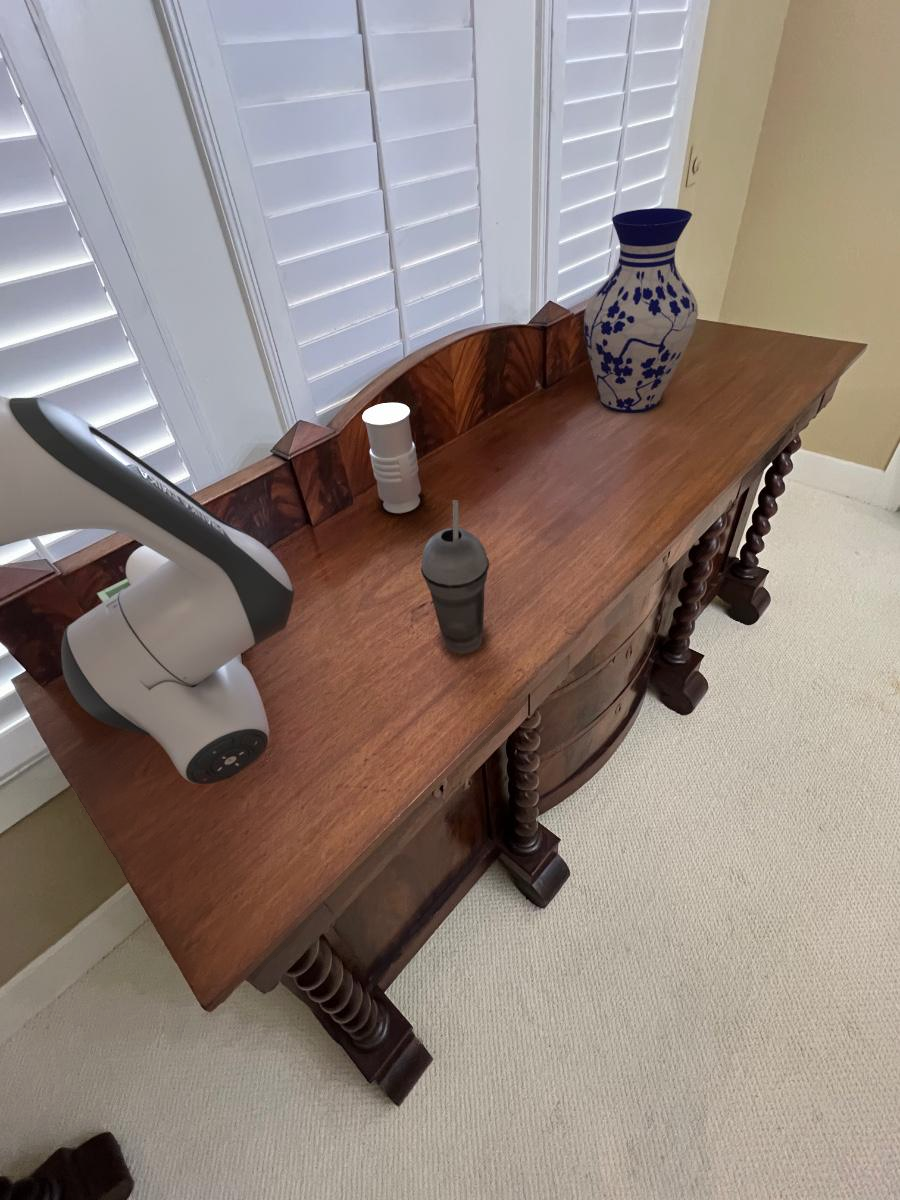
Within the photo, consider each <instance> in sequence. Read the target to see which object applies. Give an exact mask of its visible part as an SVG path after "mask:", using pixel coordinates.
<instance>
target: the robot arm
mask: <svg viewBox="0 0 900 1200" xmlns="http://www.w3.org/2000/svg"><path fill="white" fill-rule="evenodd" d="M91 529H93V530H106V531H107V530H108V531H114V532H117V533H120V534H123V535H125V536H127V537H128V538H131V539H132V540H134V541H136V542H138V543H140V544H141V545H142V546H144V545H145V546H146V547H148V548H150V549H152V550H153V551H155V552H157V553H158V554H160V555H162V556H164V557H165V558H167V559H169V561H167V562H166V563H164V564H163V565H161V566H160V567H158V568H157V569H155V570H154V571H152V572H151V573H149V574H147V575H146V576H144V577H143V578H141V579H140V580H138V581H137V582H135V583H134V584H132V585H130V586H129V587H127V588H126V589H123V590H121V591H120V592H118V593H117V594H115V595H114V596H112V597H110V598H109V599H107V600H106V601H104V602H101V603H100V604H98V605H97V606H95V607H94V608H92V609H91V610H89V611H87V612H86V613H84V614H83V615H81V616H80V617H78V618H77V619H76V620H74V621H73V622H71V623H70V624H68V625H67V626H66V627H65V630H64V632H63V636H62V639H61V646H60V654H61V656H60V657H61V668H62V673H63V677H64V680H65V683H66V685H67V688H68V690H69V691H70V693H71V695H72V697H73V698H74V700H75V701H76V702H77V703H78V705H79V706H80V707H81V708H82V709H83V710H84V711H86V713H88V714H90V716H92V718H94V719H96V720H98V721H99V722H101V723H103V724H105V725H107V726H110V727H112V728H115V729H119V730H123V731H127V732H129V733H134V734H137V735H144V736H151V737H152V738H153V739H154V740H155V741H156V742H157V743H158V744H159V745H160V746H161V747H162V749H163V750H164V752H165V753H166V754H167V756H168V757H169V759H170V760H171V762H172V764H173V765H174V767H175V769H176V771H177V772H178V773H179V775H181V777H182V778H184V779H185V780H186V781H188V782H190V783H192V784H195V785H211V784H215V783H220V782H223V781H225V780H229V779H231V778H233V777H234V776H236V775H238V774H239V773H241V772H242V771H244V770H245V769H246V768H248V767H249V766H250V765H252V764H253V763H254V762H256V761H257V760H258V759H259V758H260V757H261V755H263V753H264V752H265V751H266V749H267V747H268V745H269V743H270V727H269V721H268V717H267V713H266V710H265V707H264V703H263V700H262V697H261V695H260V691H259V689H258V687H257V685H256V681H255V680H254V677H253V675H252V674H251V672H250V671H249V670H248V668H247V667H246V666H245V665H244V664H243V661H242V660H243V659H242V654H243V653H244V652H246V651H248V650H249V649H250V648H252V647H253V646H255V647H256V646H258V645H259V644H261V643H262V642H264V641H266V640H268V639H269V638H271V637H274V636H275V635H277V634H278V633H280V632H281V631H283V630H285V629H286V626H287V624H288V621H289V618H290V615H291V612H292V607H293V602H294V597H295V589H294V587H293V585H292V582H291V579H290V577H289V575H288V573H287V571H286V569H285V567H284V566H283V565H282V563H281V562H280V561H279V559H278V558H277V557H276V556H275V554H274V553H273V552H272V551H271V550H270V549H269V548H267V546H265V545H264V544H263V543H261V542H260V541H258V540H257V539H256V538H254V537H252V536H250V535H249V534H248V533H246V532H245V531H244V530H242V529H240V528H239V527H237V526H235V525H233V524H231V523H230V522H228V521H226V520H225V519H223V518H221V517H220V516H218V515H217V514H215V513H214V512H212V511H211V510H210V509H208V508H207V507H205V506H204V505H203V504H202V503H201V502H199V501H198V500H196V499H195V498H193V497H192V496H191V495H190V494H188V493H187V492H186V491H184V490H183V489H181V488H180V487H179V486H177V485H176V484H175V483H174V482H172V481H171V480H169V478H167V477H165V476H164V475H163V474H161V473H160V472H158V471H157V470H156V469H155V468H153V467H152V466H151V465H150V464H148V463H146V462H145V461H144V460H142V459H141V458H140V457H138V456H137V455H135V454H134V453H133V452H131V451H130V450H128V449H127V448H126V447H124V446H123V445H122V444H120V443H119V442H117V441H116V440H114V439H113V438H112V437H110V436H109V435H107V434H106V433H104V432H103V431H102V430H100V429H98V428H97V427H96V426H95V425H92V424H91V423H89V421H86V420H85V419H83V418H82V417H81V416H79V415H77V414H76V413H73V412H72V411H70V410H68V409H67V408H64V407H63V406H61V405H59V404H57V403H55V402H52V401H51V400H48V399H46V398H43V397H11V398H10V397H6V396H2V395H0V547H3V546H6V545H11V544H13V543H17V542H21V541H25V540H30V539H33V538H38V537H42V536H47V535H53V534H57V533H63V532H70V531H78V530H91Z"/></svg>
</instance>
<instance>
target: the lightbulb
mask: <svg viewBox="0 0 900 1200" xmlns="http://www.w3.org/2000/svg"><path fill="white" fill-rule="evenodd" d="M167 561H169V559H167V558H165V557H164V556H162V555H160V554H158V553H157V552H155V551H153V550H152V549H150V548H148V547H146V546H145V545H142V546H139V547H138V548H137V549H135V550H134V551H132V553H131V554H130V555H129V557H128V558H127V560H126V564H125V577H126V579H127V580H128V582H129V584H130V585H132V584H134V583H135V582H137V581H138V580H140V579H141V578H143V577H144V576H146V575H147V574H149V573H151V572H152V571H154V570H155V569H157V568H158V567H160V566H161V565H163V564H164V563H166V562H167Z"/></svg>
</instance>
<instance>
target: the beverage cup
mask: <svg viewBox="0 0 900 1200" xmlns="http://www.w3.org/2000/svg"><path fill="white" fill-rule="evenodd" d="M487 554H488V553H487V552H486V549H485V547H484V545H483V543H482V541H481V540H480V539H479V538H478V537H477V536H476V535H475V534H473V533H472V532H470V531H468V530H466V529H464V528H461V527H460V528H459V501H458V500H452V527H449V528H444V529H442V530H440V531H438V532H437V533H435V534H434V535H432V536H431V537H430V538H429V540H428V541H427V542H426V545H425V546H424V548H423V552H422V557H421V568H420V573H421V575H422V578H423V579H424V580H425V581H424V582H425V583H426V586H427V589H428V590H429V593H430V597H431V600H432V604H433V607H434V610H435V614H436V618H437V622H438V626H439V629H440V633H441V636H442V638H443V640H444V644H445V647H446V648H447V649H448V650H449V651H450V652H452V653H455V654H460V655H462V654H463V655H466V654H469V653H472V652H474V651H477V649H479V647H481V645H482V642H483V633H484V612H485V586H486V582H487V578H488V570H489V568H490V561H489V557H488V555H487Z"/></svg>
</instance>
